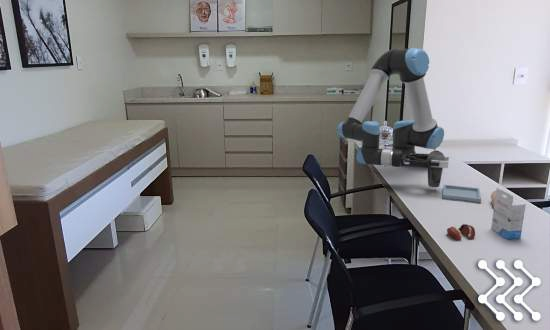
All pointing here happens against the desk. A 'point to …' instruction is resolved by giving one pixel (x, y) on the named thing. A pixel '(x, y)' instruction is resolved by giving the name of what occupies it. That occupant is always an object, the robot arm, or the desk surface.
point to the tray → (461, 193)
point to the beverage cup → (435, 168)
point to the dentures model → (461, 231)
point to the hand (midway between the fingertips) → (448, 162)
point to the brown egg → (494, 197)
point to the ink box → (507, 215)
